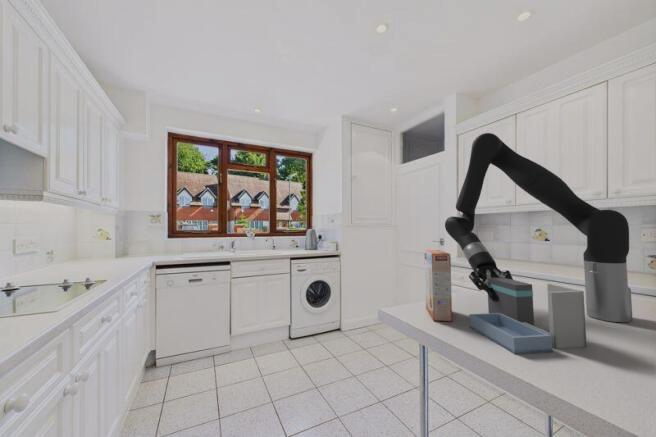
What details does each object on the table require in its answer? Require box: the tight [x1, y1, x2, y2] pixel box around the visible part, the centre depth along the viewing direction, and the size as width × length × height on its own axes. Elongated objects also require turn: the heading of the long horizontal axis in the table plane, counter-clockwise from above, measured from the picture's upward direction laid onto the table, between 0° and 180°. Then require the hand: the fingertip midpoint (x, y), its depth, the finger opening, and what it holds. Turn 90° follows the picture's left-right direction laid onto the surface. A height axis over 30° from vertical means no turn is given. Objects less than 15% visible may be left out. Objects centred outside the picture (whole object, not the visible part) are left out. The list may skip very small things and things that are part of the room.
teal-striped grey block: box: [487, 277, 535, 326], centre depth 81 cm, size 5×12×12 cm, turn 5°
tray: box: [468, 312, 553, 355], centre depth 69 cm, size 9×17×4 cm, turn 5°
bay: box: [523, 283, 587, 350], centre depth 67 cm, size 8×9×13 cm
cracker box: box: [424, 249, 453, 322], centre depth 88 cm, size 14×6×21 cm, turn 168°
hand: (504, 299), depth 83 cm, fingers closed on teal-striped grey block, 5 cm apart
